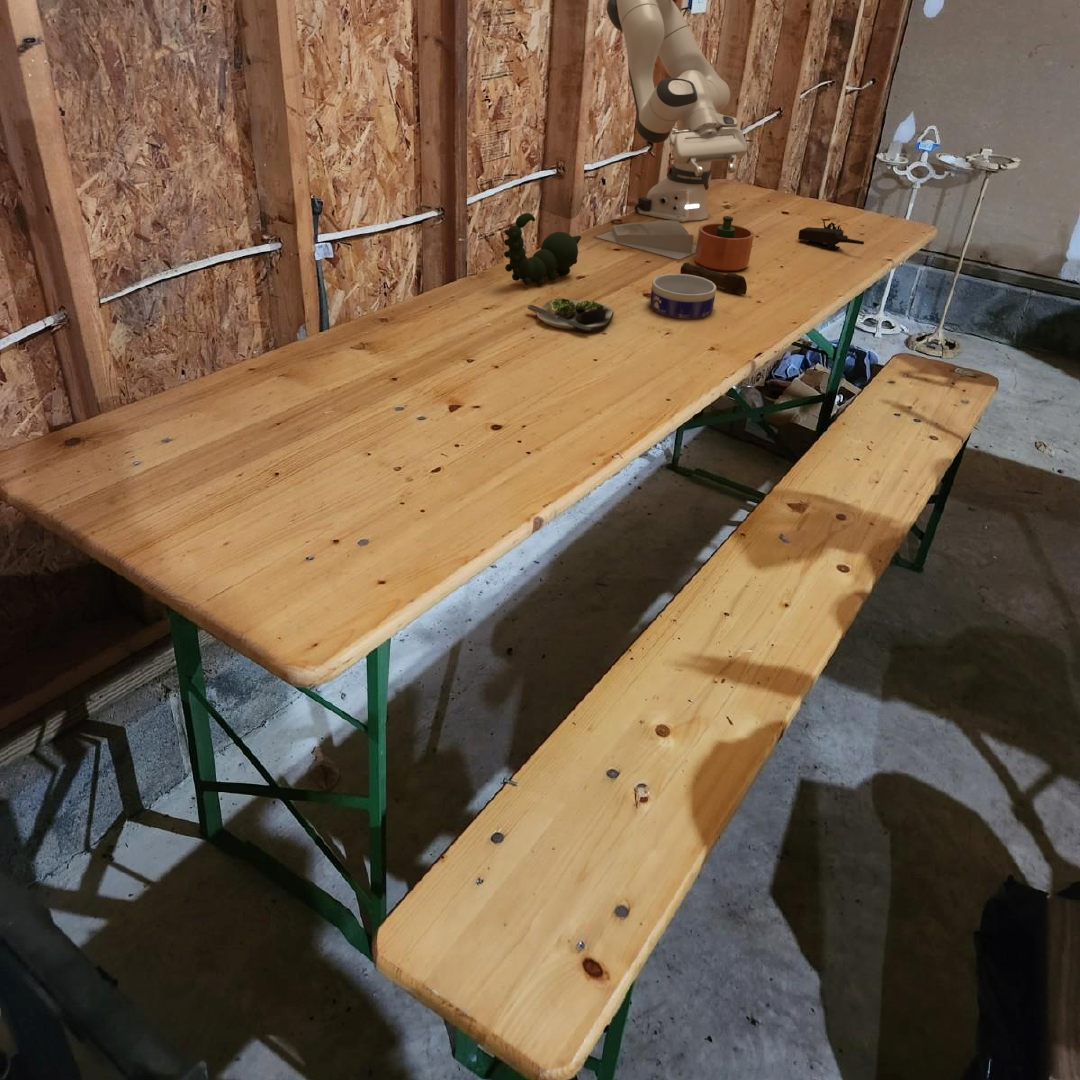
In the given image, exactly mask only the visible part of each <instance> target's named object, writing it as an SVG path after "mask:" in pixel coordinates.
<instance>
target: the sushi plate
mask: <svg viewBox="0 0 1080 1080" xmlns="http://www.w3.org/2000/svg"><path fill="white" fill-rule="evenodd" d="M526 308H527V310H530V311H531V312H533V313H535V314H536V316H537V317H536V318H538V319H539V320H540V321H542V322H543V323H545V324H547V325H549V326H551V327H553V328H557V329H562V330H568V331H572V332H578V333H584V334H592V333H593V334H594V333H598V332H601V331H604V330H605V329H606V328H607V326H608V325H609V324H610V323H611V320H612V319H613V317H614V313H615V312H614V309H613V308H612V307H611V306H608V305H606V304H603V303H600V302H597V301H593V300H590V301H589V300H583V301H581V300H577V299H571V298H564V297H563V298H562V297H559V298H554V299H550V300H547V301H545V303H544V304H543V305H542V307H541V308H540V307H538V306H537V305H534V304H528V305H527V307H526Z"/></svg>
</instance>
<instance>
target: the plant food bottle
mask: <svg viewBox="0 0 1080 1080" xmlns="http://www.w3.org/2000/svg"><path fill="white" fill-rule="evenodd" d="M722 221H723V222H722V223H723V226H718V227H717V233H716V236H717V237H723V238H734V235H735V228H734V227H731V224H732V222H733V221H734V217H733V216H729V215H724V216H723V218H722Z"/></svg>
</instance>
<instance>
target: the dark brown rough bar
mask: <svg viewBox="0 0 1080 1080" xmlns="http://www.w3.org/2000/svg"><path fill="white" fill-rule="evenodd" d="M679 270H680V273H679V274H687V275H694V276H698V277H702V278H705V279H707V280H710V281H711V282H713V283H714V284H715V285H716V287H718V288H721V289H722V290H723V291H724V292H726V293H730V294H735V295H736V294H737V295H746V294H747V290H748V285H747V280H746V278H745V276H743V275H739V274H737V273H734V272H727V273H722V272H718V271H715V270H712V269H708V268H705V267H703V266H702V267H701V266H697V265H694V264H691V263H690V262H684V263H683V264H682V266H681V267H680V269H679Z"/></svg>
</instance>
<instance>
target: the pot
mask: <svg viewBox="0 0 1080 1080" xmlns="http://www.w3.org/2000/svg"><path fill="white" fill-rule="evenodd" d="M718 226H723V222H722V223H721V222H716V223H715V222H713V223H711V222H710V223H705V224H702V225H700V226H699V228H698V232H697V233H698V234H697V241H696V245H697V246H696V252H695V253H694V260H695V262H696V263H697V264H699V265H700V266H702V267H703V268H705V269H708V270H712V271H717V272H718V271H719V272H736V271H740V270H742V269H746V268H747V267H748V266H749V264H750V259H751V254H752V248H753V242H754V237H755V233H754V231H753V230H751V229H749V228H747V227H745V226H741V225H737V224H732V223H731V227H734V228H735V235H734V238H723V237H717V236H716V233H717V227H718Z"/></svg>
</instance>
